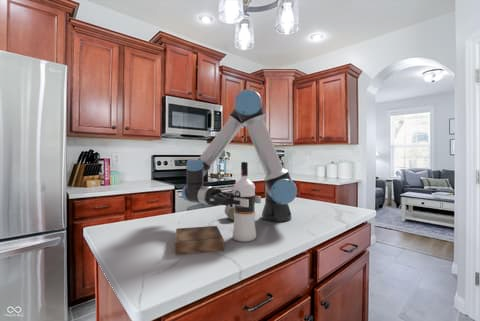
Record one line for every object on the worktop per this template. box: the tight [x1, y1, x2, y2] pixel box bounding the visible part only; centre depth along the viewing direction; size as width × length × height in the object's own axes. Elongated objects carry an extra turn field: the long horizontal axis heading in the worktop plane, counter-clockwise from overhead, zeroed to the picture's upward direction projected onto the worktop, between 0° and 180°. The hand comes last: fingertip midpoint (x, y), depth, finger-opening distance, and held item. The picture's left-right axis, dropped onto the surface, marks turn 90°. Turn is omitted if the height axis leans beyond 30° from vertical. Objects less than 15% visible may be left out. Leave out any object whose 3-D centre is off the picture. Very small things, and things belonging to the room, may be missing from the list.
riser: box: [174, 225, 225, 256], centre depth 90 cm, size 16×16×4 cm
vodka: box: [232, 161, 257, 243], centre depth 95 cm, size 9×9×30 cm
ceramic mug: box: [224, 204, 234, 221], centre depth 125 cm, size 11×8×8 cm
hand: (254, 201), depth 93 cm, fingers closed on vodka, 8 cm apart
